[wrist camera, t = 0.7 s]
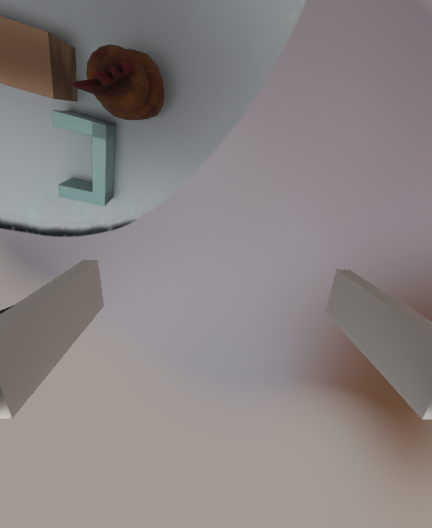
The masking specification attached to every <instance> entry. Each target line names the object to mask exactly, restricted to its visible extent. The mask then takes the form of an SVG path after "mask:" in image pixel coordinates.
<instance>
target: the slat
mask: <svg viewBox="0 0 432 528" xmlns="http://www.w3.org/2000/svg"><path fill="white" fill-rule="evenodd" d="M74 82H76V59H75V48H74V47H72V46H70V45H69V44H67V43H65V42H64V41H62V40H60V39H59V38H57V37H55V36H54V35H52V34H50V33H49V32H46V31H43V30H40V29H37V28H35V27H32V26H29V25H26V24H23V23H20V22H17V21H14V20H11V19H8V18H5V17H2V16H0V83H1V84H5V85H8V86H12V87H15V88H19V89H22V90H26V91H29V92H33V93H36V94H40V95H43V96H47V97H50V98H54V99H61V100H68V101H75V102H77V88H76V87H74V86H73V84H72V83H74Z"/></svg>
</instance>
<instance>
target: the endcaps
mask: <svg viewBox="0 0 432 528" xmlns="http://www.w3.org/2000/svg"><path fill="white" fill-rule="evenodd" d="M52 114H53V126H56V127H60V128H63V129H67V130H71V131H75V132H78V133H82V134H86V135H90V136H92V182H93V183H92V182H88V181H83V180H79V179H75V178H71V179H69V180H67V181H65V182H63V183H61V184H59V185H58V187H59V197H64V198H69V199H74V200H78V201H83V202H88V203H93V204H98V205H102V206H105V205H106V204H107V203H108V202H109V201H110V200H111V199H112V198H113V185H114V157H115V130H116V125H115V124H112V123H108V122H105V121H101V120H98V119H94V118H91V117H87V116H84V115H80V114H77V113H73V112H70V111H57V110H52Z"/></svg>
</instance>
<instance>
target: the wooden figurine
mask: <svg viewBox="0 0 432 528" xmlns="http://www.w3.org/2000/svg"><path fill="white" fill-rule="evenodd" d="M87 79H88V80H83V81H76V82H74V83H72V84H73V86H74V87H76V88H79V89H81V90H84V91H87V92H89V93H92V94H94V95H95V96H96V98H97V99H98V100H99V101H100V102H101V103H102V105H103V107H104V108H105V109H106V110H108V111H109V112H110V113H111V114H112V115H113V116H115V117H118V118H122V119H126V120H142V119H149V118H151V117H154V116H156V115H157V114H158V113H159V111H160V109H161V108H162V106H163V100H164V87H163V80H162V77H161V74H160V71H159V68H158V66H157V64H156V63H155V62H154V61H153V60H152V59H151V58H150V57H149V56H148V54H145V53H142V52H139V51H136V50H130V49H124V48H122V47H120V46H115V45H106V46H102V47H100V48H98V49H97V50H96V51H95V52H93V53H92V55H91V57H90V59H89V61H88V63H87Z"/></svg>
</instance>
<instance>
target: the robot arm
mask: <svg viewBox="0 0 432 528" xmlns="http://www.w3.org/2000/svg"><path fill="white" fill-rule="evenodd" d="M103 306H104V303H103V295H102V288H101V280H100V273H99V265H98V261H93V260H92V261H91V260H83V261H81V262H80V263H78V264H76V265H75V266H74V267H72V268H71V269H69V270H67V271H66V272H64V273H63V274H61V275H60V276H58V277H57V278H55V279H54V280H52V281H51V282H49V283H47V284H46V285H45V286H43V287H41V288H40V289H38V290H37V291H35V292H34V293H32V294H31V295H29V296H28V297H26V298H25V299H23V300H22V301H20V302H19V303H17V304H15V305H13V306H11V307H8V308H6V309H3V310H1V311H0V419H12V418H13V417H14V416H15V414H16V413H17V412H18V411H19V409H20V408H21V407H22V406H23V404H24V403H25V402H26V401H27V399H28V398H29V397H30V396H31V395H32V394H33V392H34V391H35V390H36V389H37V387H38V386H39V385H40V384H41V382H42V381H43V380H44V379H45V378H46V376H47V375H48V374H49V373H50V371H51V370H52V369H53V368H54V367H55V365H56V364H57V363H58V362H59V360H60V359H61V358H62V357H63V355H64V354H65V353H66V352H67V350H68V349H69V348H70V347H71V346H72V344H73V343H74V342H75V341H76V339H77V338H78V337H79V336H80V335H81V333H82V332H83V331H84V330H85V328H86V327H87V326H88V325H89V324H90V322H91V321H92V320H93V319H94V317H95V316H96V315H97V313H98V312H99V311H100V310H101V309H102V307H103ZM326 312H327V314H328V315H329V316H330V317H331V318H332V319H333V320H334V321H335V322H336V323H337V325H338V326H339V327H340V328H341V329H342V330H343V331H344V333H345V334H346V335H347V336H348V337H349V338H350V339H351V340H352V341H353V343H354V344H355V345H356V346H357V347H358V348H359V349H360V350H361V352H362V353H363V354H364V355H365V356H366V357H367V358H368V359H369V360H370V362H372V364H373V365H374V366H375V367H376V368H377V369H378V370H379V371H380V373H381V374H382V375H383V376H384V377H385V378H386V379H387V381H389V383H390V384H391V385H392V386H393V387H394V388H395V390H396V391H397V392H398V393H399V394H400V395H401V396H402V397H403V398H404V400H405V401H406V402H407V403H408V404H409V405H410V406H411V407H412V409H413V410H414V411H415V412H416V413H417V414H418V415H419V416H420V417H421V419H432V322H431V321H429V320H427V319H426V318H424V317H422V316H421V315H420V314H418V313H416V312H415V311H413V310H412V309H410V308H409V307H407V306H406V305H404V304H402V303H401V302H399V301H398V300H396V299H395V298H393V297H391V296H390V295H388V294H387V293H385V292H383V291H382V290H380V289H379V288H377V287H375V286H374V285H373V284H371V283H369V282H368V281H366V280H365V279H363V278H362V277H360V276H358V275H357V274H355V273H353V272H352V271H351V270H339V269H338V270H336V273H335V277H334V282H333V285H332V289H331V294H330V297H329V301H328V305H327V309H326Z"/></svg>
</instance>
